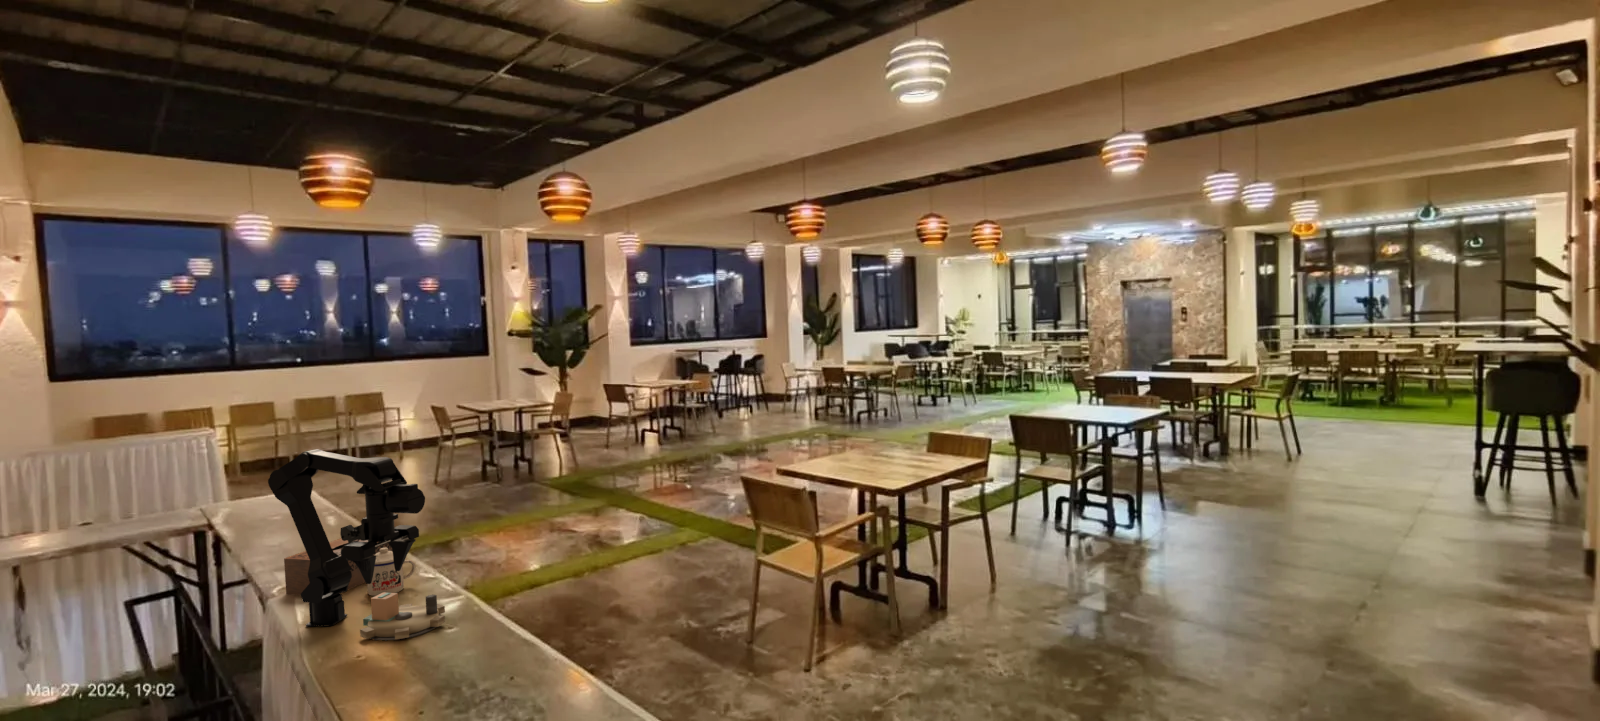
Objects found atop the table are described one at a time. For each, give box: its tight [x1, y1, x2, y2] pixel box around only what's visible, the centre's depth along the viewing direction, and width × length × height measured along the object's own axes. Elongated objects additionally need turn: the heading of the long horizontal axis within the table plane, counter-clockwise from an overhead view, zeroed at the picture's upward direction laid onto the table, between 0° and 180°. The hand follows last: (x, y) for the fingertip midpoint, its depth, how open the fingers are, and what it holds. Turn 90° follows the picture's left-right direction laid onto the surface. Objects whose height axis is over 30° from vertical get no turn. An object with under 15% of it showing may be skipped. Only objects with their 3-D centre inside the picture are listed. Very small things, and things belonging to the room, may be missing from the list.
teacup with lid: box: [366, 548, 417, 597], centre depth 209 cm, size 12×9×12 cm
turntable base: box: [370, 627, 437, 642], centre depth 183 cm, size 16×16×1 cm
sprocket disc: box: [359, 594, 446, 641], centre depth 183 cm, size 19×18×6 cm
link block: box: [370, 592, 399, 620], centre depth 183 cm, size 4×4×5 cm
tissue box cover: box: [283, 537, 393, 596], centre depth 218 cm, size 26×14×10 cm, turn 168°
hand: (383, 577), depth 183 cm, fingers open, 9 cm apart
